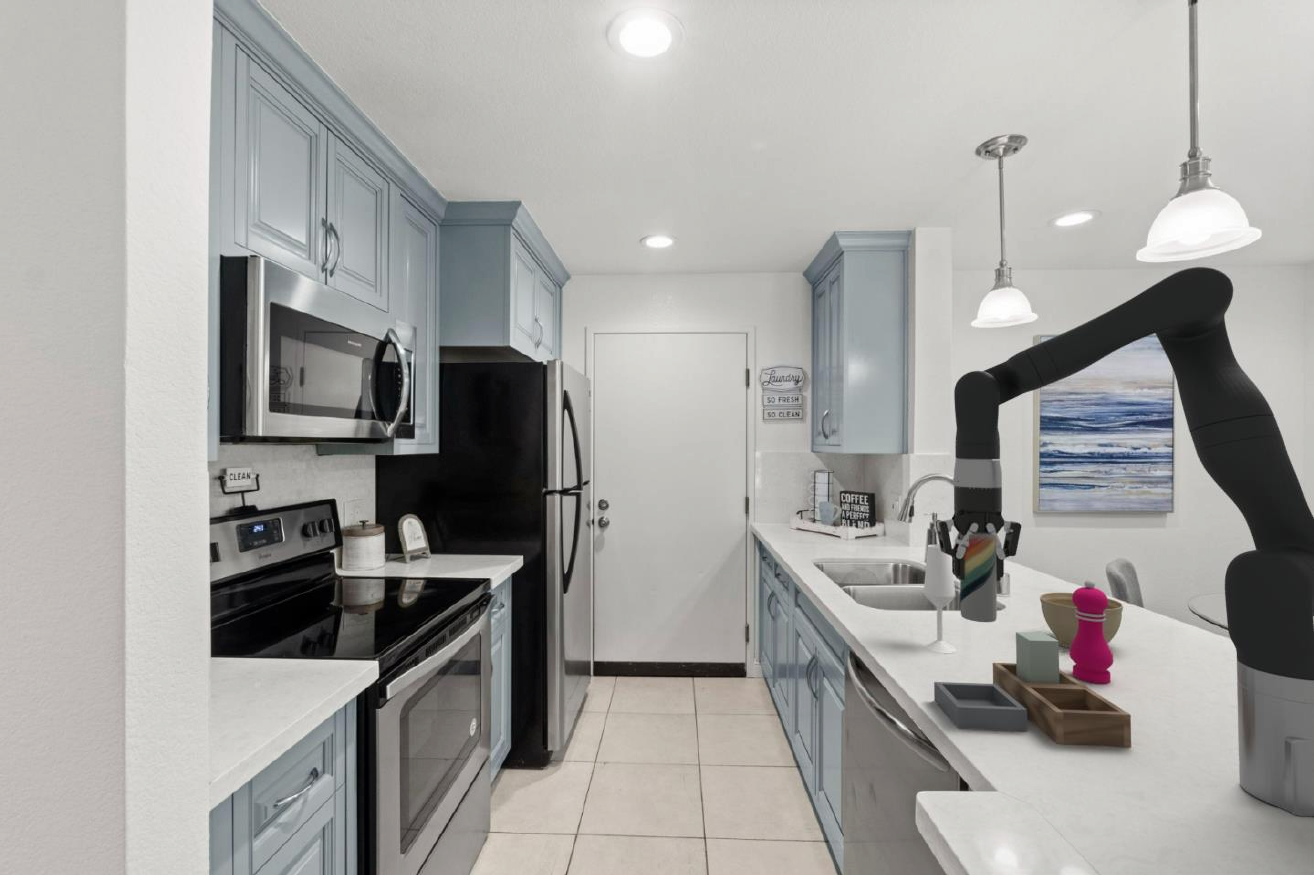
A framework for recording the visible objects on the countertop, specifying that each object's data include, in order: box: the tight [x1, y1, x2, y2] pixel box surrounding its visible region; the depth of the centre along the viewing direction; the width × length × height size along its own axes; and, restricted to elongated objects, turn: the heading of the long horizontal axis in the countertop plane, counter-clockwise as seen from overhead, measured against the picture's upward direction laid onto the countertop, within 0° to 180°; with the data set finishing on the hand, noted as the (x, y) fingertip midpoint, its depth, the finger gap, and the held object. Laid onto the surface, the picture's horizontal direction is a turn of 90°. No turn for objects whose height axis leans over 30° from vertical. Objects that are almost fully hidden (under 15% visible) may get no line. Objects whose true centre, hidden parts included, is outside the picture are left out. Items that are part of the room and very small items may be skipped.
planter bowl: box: [1039, 592, 1124, 649], centre depth 142 cm, size 16×16×11 cm
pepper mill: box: [1069, 579, 1114, 685], centre depth 122 cm, size 7×7×20 cm
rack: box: [992, 662, 1132, 748], centre depth 105 cm, size 22×11×5 cm, turn 174°
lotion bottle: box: [959, 512, 998, 623], centre depth 106 cm, size 6×6×20 cm
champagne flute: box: [923, 544, 957, 654], centre depth 140 cm, size 7×7×24 cm
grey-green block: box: [1015, 631, 1060, 684], centre depth 111 cm, size 5×5×12 cm
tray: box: [933, 681, 1028, 732], centre depth 105 cm, size 11×11×4 cm
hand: (977, 578), depth 106 cm, fingers closed on lotion bottle, 5 cm apart
